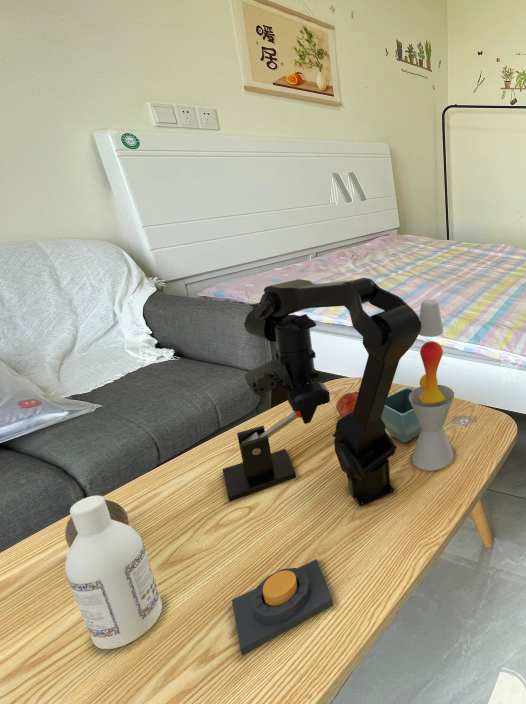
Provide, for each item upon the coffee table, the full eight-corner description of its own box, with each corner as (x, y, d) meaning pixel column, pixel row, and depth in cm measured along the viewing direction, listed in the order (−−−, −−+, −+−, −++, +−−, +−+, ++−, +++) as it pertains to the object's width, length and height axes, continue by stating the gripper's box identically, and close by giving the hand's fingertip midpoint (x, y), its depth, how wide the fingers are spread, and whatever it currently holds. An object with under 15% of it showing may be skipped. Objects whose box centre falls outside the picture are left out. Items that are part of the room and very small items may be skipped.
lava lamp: (461, 461, 91) (462, 304, 80) (420, 476, 86) (415, 312, 75) (443, 439, 98) (442, 291, 87) (405, 451, 93) (397, 297, 82)
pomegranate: (336, 436, 101) (367, 418, 98) (319, 410, 100) (349, 391, 97) (355, 422, 108) (384, 404, 105) (338, 398, 107) (367, 379, 104)
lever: (313, 406, 89) (304, 395, 87) (317, 413, 86) (308, 402, 85) (250, 449, 83) (239, 438, 82) (253, 458, 81) (242, 447, 79)
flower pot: (408, 418, 105) (407, 386, 102) (434, 432, 100) (433, 398, 97) (378, 435, 98) (375, 401, 95) (403, 451, 94) (402, 415, 91)
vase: (97, 569, 64) (80, 523, 61) (60, 559, 66) (42, 513, 63) (144, 532, 71) (131, 489, 68) (110, 524, 72) (95, 481, 69)
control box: (317, 565, 67) (315, 550, 66) (333, 605, 61) (331, 589, 60) (233, 606, 60) (229, 590, 59) (242, 655, 54) (238, 639, 53)
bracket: (286, 453, 91) (280, 415, 88) (296, 477, 84) (290, 437, 81) (223, 474, 84) (214, 433, 81) (229, 502, 78) (220, 459, 75)
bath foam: (156, 589, 62) (120, 475, 55) (169, 621, 58) (132, 502, 51) (89, 625, 57) (40, 504, 50) (98, 664, 53) (47, 538, 46)
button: (293, 574, 62) (292, 565, 62) (300, 595, 60) (298, 586, 59) (262, 589, 60) (260, 580, 59) (267, 612, 57) (265, 602, 57)
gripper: (237, 339, 83) (250, 409, 88) (253, 377, 70) (267, 458, 75) (300, 328, 90) (308, 394, 95) (326, 361, 76) (334, 436, 82)
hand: (304, 418), depth 87 cm, fingers open, 4 cm apart
